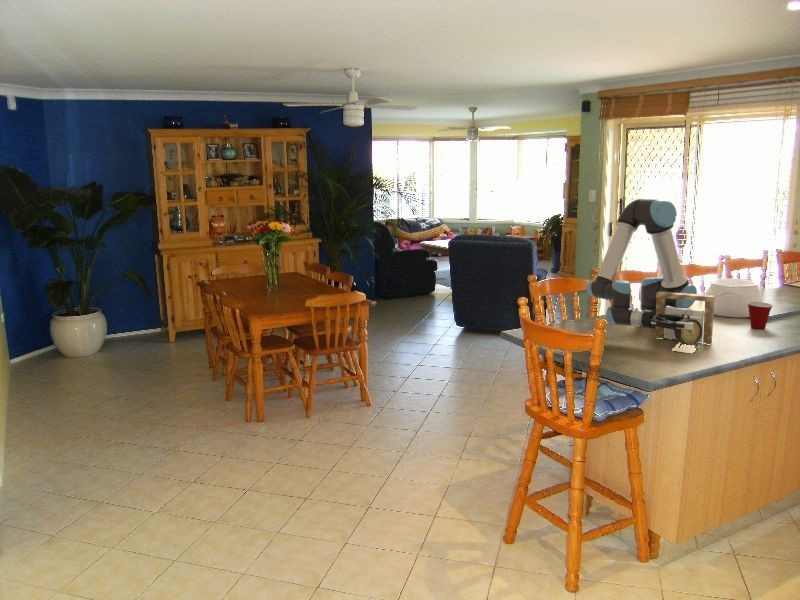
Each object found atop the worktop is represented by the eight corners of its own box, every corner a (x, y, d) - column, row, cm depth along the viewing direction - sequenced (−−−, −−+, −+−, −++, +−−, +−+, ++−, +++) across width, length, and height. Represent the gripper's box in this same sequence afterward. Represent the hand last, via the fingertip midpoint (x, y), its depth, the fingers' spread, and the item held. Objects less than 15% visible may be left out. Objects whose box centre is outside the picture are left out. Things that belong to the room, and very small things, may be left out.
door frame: (654, 339, 305) (656, 292, 301) (657, 337, 309) (658, 291, 304) (710, 345, 292) (712, 297, 288) (712, 343, 295) (714, 295, 291)
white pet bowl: (759, 321, 330) (761, 288, 327) (699, 317, 344) (701, 285, 341) (764, 309, 354) (766, 279, 351) (708, 306, 368) (710, 276, 365)
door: (664, 338, 304) (665, 307, 301) (665, 337, 305) (666, 306, 303) (701, 342, 295) (702, 311, 292) (702, 341, 297) (703, 310, 294)
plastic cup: (775, 331, 311) (776, 305, 309) (749, 331, 313) (750, 305, 311) (767, 325, 322) (769, 300, 319) (742, 325, 324) (744, 300, 322)
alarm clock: (679, 348, 285) (682, 310, 282) (671, 345, 290) (673, 307, 287) (701, 347, 287) (705, 309, 284) (693, 344, 292) (696, 306, 290)
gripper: (635, 315, 287) (690, 320, 274) (651, 304, 305) (703, 309, 293) (634, 332, 288) (689, 338, 275) (650, 321, 307) (702, 326, 294)
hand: (696, 323), depth 284 cm, fingers open, 11 cm apart
